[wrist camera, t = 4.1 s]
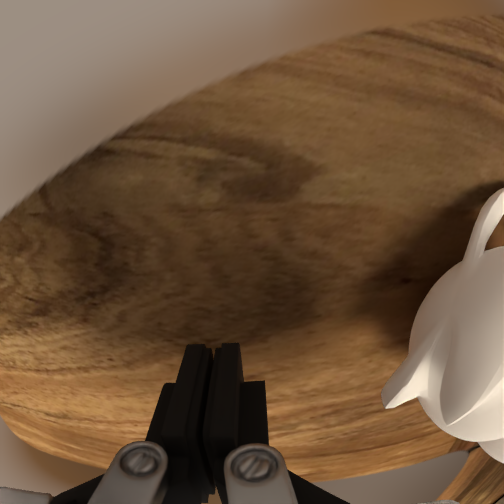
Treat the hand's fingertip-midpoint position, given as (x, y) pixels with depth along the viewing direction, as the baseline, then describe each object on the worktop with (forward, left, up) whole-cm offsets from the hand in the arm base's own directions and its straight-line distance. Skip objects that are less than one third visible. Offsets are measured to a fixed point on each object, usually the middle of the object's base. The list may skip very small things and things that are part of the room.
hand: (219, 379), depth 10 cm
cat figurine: (+6, +10, -2) cm, 12 cm away
